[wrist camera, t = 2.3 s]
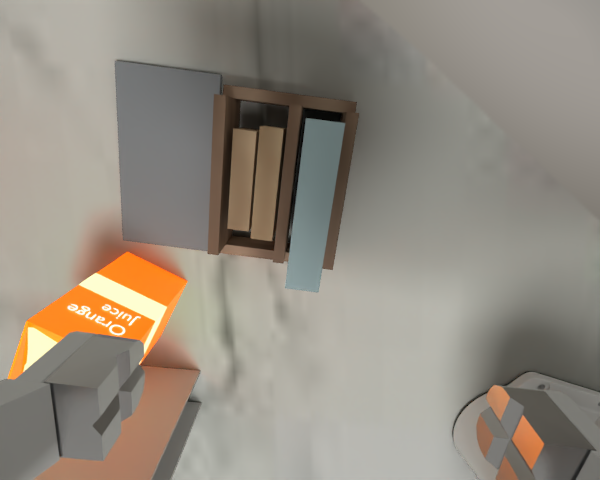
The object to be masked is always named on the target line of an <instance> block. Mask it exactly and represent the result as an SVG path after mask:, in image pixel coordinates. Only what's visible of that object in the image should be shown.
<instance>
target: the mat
mask: <svg viewBox="0 0 600 480" xmlns="http://www.w3.org/2000/svg"><path fill="white" fill-rule="evenodd" d="M115 78H116V100H117V121H118V143H119V165H120V187H121V208H122V230H123V240H124V241H132V242H140V243H148V244H155V245H163V246H171V247H179V248H186V249H194V250H202V251H208V229H209V203H210V178H211V153H212V127H213V102H214V94H218V95H221V87H222V75H220V74H213V73H205V72H197V71H190V70H182V69H175V68H167V67H160V66H152V65H145V64H137V63H130V62H122V61H115Z"/></svg>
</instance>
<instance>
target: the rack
mask: <svg viewBox="0 0 600 480" xmlns="http://www.w3.org/2000/svg"><path fill="white" fill-rule="evenodd" d="M241 101H249V102H257V103H264V104H272V105H279V106H287V107H289V115H288V124H287V134H286V143H285V152H284V162H283V171H282V180H281V190H280V199H279V208H278V218H277V227H276V237H275V241H265V240H258V239H251V238H248V237H240V236H232V231H233V229H227V227H228V210H229V193H230V176H231V158H232V141H233V129H234V128H239V121H240V105H241ZM356 105H357V102H351V101H344V100H336V99H329V98H321V97H314V96H306V95H299V94H291V93H283V92H276V91H268V90H261V89H253V88H246V87H238V86H231V85H224V87H223V95H218V94H214V102H213V127H212V153H211V178H210V203H209V229H208V254H214V255H218V254H219V253H225V254H233V255H241V256H248V257H256V258H264V259H272V260H273V262H276V263H283V262H284V261H287V262H288V260H289V252H290V244H291V243H288V236H289V228H290V219H291V211H292V202H293V194H294V186H295V177H296V169H297V161H298V152H299V144H300V136H301V127H302V119H303V111H304V109H310V110H317V111H325V112H332V113H340V114H341V118H340V123H345V128H344V134H343V141H342V147H341V153H340V160H339V166H338V172H337V179H336V185H335V191H334V197H333V204H332V210H331V216H330V223H329V229H328V235H327V242H326V248H325V254H324V260H323V267H322V269H330V270H333V265H334V259H335V253H336V247H337V241H338V235H339V229H340V223H341V217H342V212H343V206H344V200H345V194H346V188H347V182H348V176H349V170H350V164H351V159H352V153H353V147H354V141H355V135H356V129H357V123H358V117H359V113H355V111H356Z"/></svg>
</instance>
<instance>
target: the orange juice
mask: <svg viewBox="0 0 600 480" xmlns="http://www.w3.org/2000/svg"><path fill="white" fill-rule="evenodd" d="M186 283H187V281H186V280H184V279H182V278H180V277H178V276H176V275H174V274H172V273H170V272H168V271H166V270H164V269H162V268H160V267H158V266H155V265H153V264H151V263H149V262H147V261H145V260H143V259H141V258H139V257H137V256H135V255H133V254H131V253H129V252H126V253H125V254H123V255H122V256H120V257H119V258H117V259H116V260H115V261H113V262H112V263H110V264H109V265H107V266H106V267H104V268H103V269H101V270H100V271H98V272H97V273H95V274H93V275H92V276H90V277H89V278H87V279H86V280H84V281H83V282H81V283H80V284H79V285H78V286H77V287H75V288H74V289H72V290H71V291H69V292H68V293H66V294H65V295H64V296H62V297H61V298H59V299H58V300H56V301H55V302H53V303H52V304H50V305H49V306H47V307H46V308H45V309H43V310H42V311H40V312H39V313H37V314H36V315H34V316H33V317H31V318H30V319H29V320H27V321H26V324H25V327H24V330H23V333H22V336H21V339H20V342H19V346H18V349H17V352H16V355H15V358H14V361H13V364H12V367H11V370H10V373H9V376H8V379H16V378H17V377H18V376H19V375H20V374H22V373H23V372H24V371H25V370H26V369H27V368H29V367H30V366H31V365H32V364H33V363H34V362H36V361H37V360H38V359H39V358H40V357H41V356H43V355H44V354H45V353H46V352H47V351H48V350H50V349H51V348H52V347H53V346H54V345H56V344H57V343H58V342H59V341H60V340H61V339H63V338H64V337H65V336H66V335H67V334H68V333H70V332H74V331H80V332H88V333H95V334H103V335H110V336H116V337H123V338H130V339H137V340H141V341H142V342H143V343H144V357H143V358H142V360H141V361H140V363H139V365H140V364H141V363H142V361H143V360H144V358H145V357H146V356H147V354H148V353H149V352H150V350H151V349H152V347H153V346H154V345H155V343H156V342H157V340H158V339H159V338H160V336H161V334H162V332H163V330H164V328H165V326H166V324H167V322H168V320H169V318H170V316H171V314H172V312H173V310H174V308H175V306H176V304H177V301H178V299H179V297H180V295H181V293H182V291H183V289H184V287H185V285H186Z"/></svg>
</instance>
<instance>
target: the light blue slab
mask: <svg viewBox="0 0 600 480" xmlns="http://www.w3.org/2000/svg"><path fill="white" fill-rule="evenodd" d="M344 128H345V123H340V122H332V121H325V120H317V119H310V118H306V122H305V130H304V138H303V146H302V154H301V162H300V171H299V179H298V187H297V195H296V203H295V211H294V219H293V228H292V236H291V244H290V252H289V260H288V268H287V276H286V285H285V288H287V289H295V290H303V291H311V292H319V286H320V279H321V273H322V267H323V260H324V254H325V248H326V242H327V235H328V229H329V223H330V216H331V210H332V204H333V197H334V191H335V185H336V179H337V172H338V166H339V160H340V153H341V147H342V141H343V134H344Z"/></svg>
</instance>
